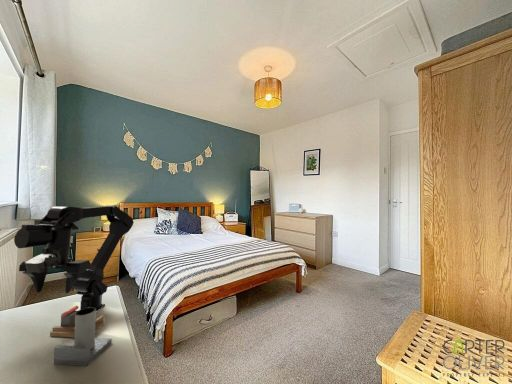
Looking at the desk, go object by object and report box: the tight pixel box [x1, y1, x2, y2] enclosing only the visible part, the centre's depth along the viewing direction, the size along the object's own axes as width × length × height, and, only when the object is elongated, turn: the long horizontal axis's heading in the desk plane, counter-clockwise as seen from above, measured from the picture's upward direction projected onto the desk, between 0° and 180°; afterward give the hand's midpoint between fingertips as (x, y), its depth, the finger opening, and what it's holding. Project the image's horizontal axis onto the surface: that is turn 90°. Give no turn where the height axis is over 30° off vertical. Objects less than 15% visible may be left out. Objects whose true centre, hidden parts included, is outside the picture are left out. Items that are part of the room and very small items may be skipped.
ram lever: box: [60, 305, 80, 327], centre depth 71 cm, size 5×3×5 cm, turn 177°
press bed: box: [53, 337, 113, 367], centre depth 61 cm, size 9×9×4 cm
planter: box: [73, 307, 97, 349], centre depth 61 cm, size 4×4×10 cm
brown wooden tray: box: [49, 314, 105, 338], centre depth 71 cm, size 7×12×3 cm, turn 87°
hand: (53, 292), depth 71 cm, fingers open, 9 cm apart
